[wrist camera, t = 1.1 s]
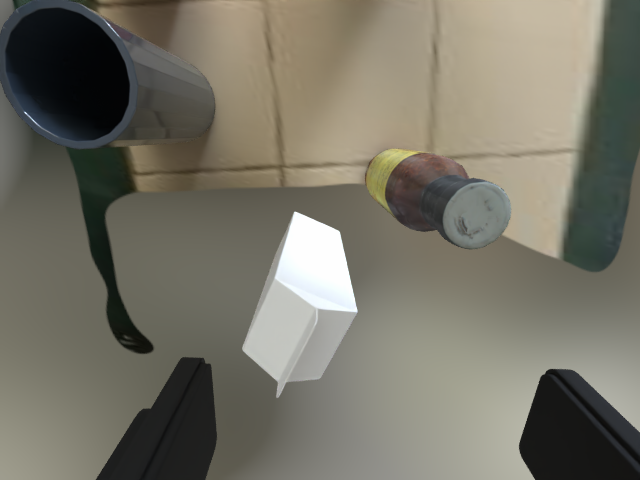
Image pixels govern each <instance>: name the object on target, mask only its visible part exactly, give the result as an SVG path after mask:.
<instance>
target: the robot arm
mask: <svg viewBox="0 0 640 480" xmlns="http://www.w3.org/2000/svg"><path fill="white" fill-rule="evenodd" d="M216 440H217V432H216V420H215V408H214V395H213V382H212V370H211V365H210V364H205V360H204V358H188V357H183V358H181V359H180V361H179V362H178V364H177V366H176V367H175V369H174V371H173V373H172V374H171V376H170V378H169V379H168V381H167V382H166V384H165V386H164V388H163V389H162V391H161V393H160V394H159V396H158V398H157V399H156V401H155V403H154V404H153V406H152V408H151V409H142V410H141V411H140V412H139V413H138V414H137V416H136V417H135V419H134V420H133V422H132V423H131V425H130V426H129V428H128V430H127V431H126V433H125V434H124V436H123V438H122V439H121V441H120V442H119V444H118V445H117V447H116V449H115V450H114V452H113V454H112V455H111V457H110V458H109V460H108V461H107V463H106V464H105V466H104V468H103V469H102V471H101V473H100V474H99V476H98V477H97V479H96V480H205V478H206V476H207V472H208V469H209V465H210V463H211V460H212V457H213V454H214V450H215V446H216ZM519 450H520V454H521V457H522V459H523V460H524V462H525V464H526V465H527V467H528V468H529V470H530V472H531V473H532V475H533V477H534V478H535V480H640V432H639V431H638V430H637V429H635V428H634V427H633V426H632V425H631V424H630V423H629V422H628V421H627V420H626V419H625V418H624V417H623V416H622V415H621V414H620V413H619V412H618V411H617V410H616V409H615V408H613V407H612V406H611V405H610V404H609V403H608V402H607V401H606V400H605V399H604V398H603V397H602V396H601V395H600V394H599V393H598V392H597V391H596V390H595V389H594V388H593V387H591V386H590V385H589V384H588V383H587V382H586V381H585V380H584V379H583V378H582V377H581V376H580V375H579V374H578V373H576V372H575V371H573V370H566V369H549V370H548V371H546V373H545V374H544V375H542V376H541V378H540V381H539V384H538V387H537V390H536V393H535V397H534V399H533V403H532V406H531V409H530V412H529V415H528V418H527V421H526V424H525V427H524V430H523V434H522V437H521V440H520V443H519Z"/></svg>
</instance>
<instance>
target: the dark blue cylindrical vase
mask: <svg viewBox="0 0 640 480" xmlns="http://www.w3.org/2000/svg"><path fill="white" fill-rule="evenodd" d="M0 81H1V84H2V87H3V90H4V93H5V94H6V97H7V98H8V100H9V102H10V103H11V105H12V106H13V108H14V109H15V111H16V112H17V114H18V115H19V117H21V118H22V120H24V121H25V122H26V123H27V124H28V125H29V126H30V127H31V128H32V129H33V130H34V131H35V132H37V133H38V134H40V135H41V136H43V137H45V138H47V139H49V140H50V141H52V142H54V143H56V144H58V145H62V146H66V147H70V148H74V149H93V148H108V147H123V146H138V145H153V144H168V143H183V142H190V141H193V140H195V139H197V138H199V137H201V136H202V135H203V134H204V133H205V132H206V131H207V130H208V129H209V127H210V125H211V123H212V121H213V118H214V115H215V98H214V94H213V91H212V88H211V86H210V84H209V82H208V81H207V79H206V77H205V76H204V75H203V74H202V73H201V72H200V71H199V70H198V69H197V68H195V67H194V66H193V65H191V64H189V63H187V62H186V61H184V60H183V59H181V58H179V57H177V56H175V55H174V54H172V53H170V52H168V51H166V50H164V49H163V48H161V47H159V46H157V45H155V44H153V43H152V42H150V41H148V40H146V39H144V38H142V37H141V36H139V35H137V34H135V33H133V32H131V31H130V30H128V29H126V28H124V27H122V26H120V25H119V24H117V23H115V22H113V21H111V20H110V19H108V18H106V17H104V16H102V15H100V14H99V13H97V12H95V11H93V10H91V9H89V8H88V7H86V6H84V5H82V4H79V3H76V2H72V1H69V0H33V1H31V2H29V3H27V4H25V5H23V6H21V7H19V8H17V10H15V11H14V12H13V14H12V15H11V16H10V17H9V19H8V20H7V21H6V22H5V24H4V25H3V27H2V30H1V33H0Z"/></svg>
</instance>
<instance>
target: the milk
mask: <svg viewBox="0 0 640 480" xmlns="http://www.w3.org/2000/svg"><path fill="white" fill-rule="evenodd" d="M356 314H357V307H356V303H355V298H354V294H353V289H352V285H351V280H350V276H349V272H348V267H347V262H346V258H345V253H344V248H343V244H342V239H341V235H340V231H338V230H335V229H333V228H331V227H329V226H327V225H324V224H322V223H320V222H317V221H315V220H313V219H311V218H308V217H306V216H304V215H302V214H299V213H297V212H294V214H293V216H292V218H291V221H290V222H289V225H288V227H287V229H286V231H285V234H284V236H283V238H282V241H281V243H280V245H279V247H278V249H277V252H276V254H275V257H274V260H273V262H272V266H271V268H270V271H269V274H268V277H267V279H266V282H265V285H264V288H263V291H262V293H261V297H260V299H259V302H258V305H257V308H256V310H255V313H254V317H253V319H252V322H251V325H250V327H249V330H248V333H247V336H246V339H245V342H244V345H243V348H242V350H243V351H244V352H245V353H246V354H247V355H248V356H249V357H250V358H251V359H252V360H254V361H255V362H256V363H257V364H258V365H259V366H260V367H262V368H263V369H264V370H265V371H266V372H267V373H269V375H271V376H272V377H273V378H274V379H275V380H276V381H277V382H278V387H277V393H276V397H277V398H278V397H279V396H280V394H281V392H282V390H283V388H284V386H285V384H286V383H287V382H295V381H307V380H318V379H320V378H321V377H322V375H323V373H324V372H325V370H326V368H327V366H328V364H329V363H330V361H331V359H332V357H333V356H334V354H335V352H336V350H337V348H338V346H339V345H340V343H341V341H342V339H343V338H344V336H345V334H346V332H347V331H348V329H349V327H350V325H351V323H352V321H353V320H354V318H355V316H356Z"/></svg>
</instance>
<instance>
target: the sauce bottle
mask: <svg viewBox="0 0 640 480" xmlns="http://www.w3.org/2000/svg"><path fill="white" fill-rule="evenodd" d="M365 181H366V186H367V188H368V191H369V193H370V194H371V196H372V197H373V198H374V199H375V200H376V201H377V202H378V203H379V204H380V205H381V206H382V207H383V208H385V209H386V210H387V211H388V212H389V213H390V214H391V215H392V216H393V217H395V218H396V219H397V220H398V221H399V222H400V223H402V224H403V225H404V226H406V227H408V228H410V229H413V230H416V231H423V232H425V231H433V230H438V232H439V233H440V234H441V236H442V237H443V238H444V239H445V240H447V241H448V242H451V243H452V244H454V245H456V246H458V247H461V248H465V249H478V248H482V247H485V246H487V245H488V244H490V243H492V242H494V241H495V240H496V239H497V238H498V237H499V236H500V235H501V234H502V233H503V232H504V230H505V229H506V227H507V225H508V223H509V220H510V216H511V205H510V201H509V198H508V196H507V195H506V193H505V192H504V190H503V189H502V188H500V187H499V186H497V185H496V184H493V183H491V182H488V181H485V180H481V179H476V178H471V179H469V176H468V175H467V173H466V171H465V169H464V168H463V166H462V165H459V164H458V163H456V162H455V161H454V160H451V159H449V158H447V157H444V156H439V155H436V154H433V153H428V152H420V151H413V150H405V149H389V150H386V151H383V152H381V153H380V154H378V155H377V156H376V157H374V158H373V159H372V160H371V161H370V163H369V165H368V168H367V171H366V175H365Z"/></svg>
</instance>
